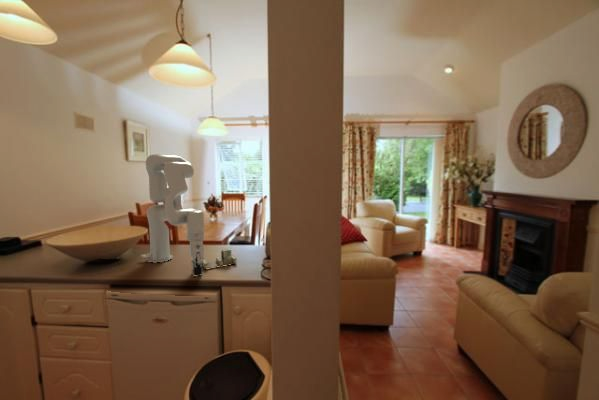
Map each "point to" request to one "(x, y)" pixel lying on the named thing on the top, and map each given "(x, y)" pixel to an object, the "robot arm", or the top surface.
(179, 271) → the top surface
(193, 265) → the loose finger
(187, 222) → the robot arm
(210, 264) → the rail board
